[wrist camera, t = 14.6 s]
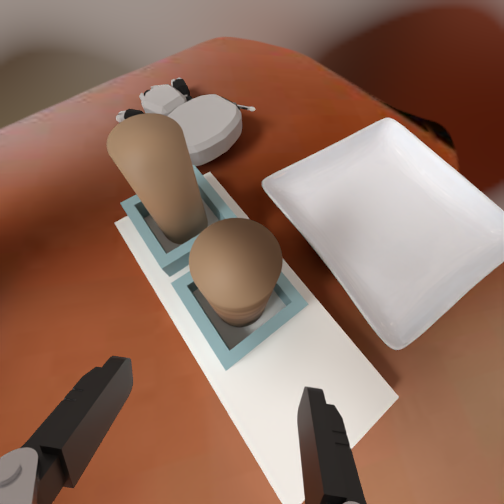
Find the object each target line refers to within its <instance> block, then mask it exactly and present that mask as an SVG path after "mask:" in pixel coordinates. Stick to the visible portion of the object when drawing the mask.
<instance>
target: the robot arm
mask: <svg viewBox="0 0 504 504" xmlns="http://www.w3.org/2000/svg"><path fill="white" fill-rule="evenodd" d="M132 386H133V375H132V365H131V359H130V358H125V357H118V356H112V357H110V358H109V359H108V361H107V362H106V363H105V364H104V365H103V367H102V368H101V367H95V368H94V369H92V370H91V371H90V372H88V373H87V374H85V375H84V376H83V377H82V378H81V379H80V380H79V381H78V383H77V384H76V385H75V386H74V387H73V389H72V390H71V391H70V392H69V393H68V394H67V395H66V397H65V398H64V400H63V401H61V402H60V404H59V405H58V406H57V407H56V408H55V409H54V411H53V412H52V413H51V414H50V415H49V416H48V418H47V419H46V420H45V421H44V422H43V423H42V425H41V426H40V427H39V428H38V429H37V430H36V432H35V433H34V434H33V435H32V436H31V437H30V439H29V440H28V441H27V442H26V443H25V444H24V445H23V446H22V447H21V448H19V449H16V450H13V451H11V452H9V453H7V454H5V455H4V456H2V457H1V458H0V504H55V498H56V496H57V495H58V493H59V492H60V490H61V489H62V487H63V486H64V487H69V488H74V487H75V485H76V484H77V482H78V480H79V479H80V477H81V475H82V474H83V472H84V470H85V469H86V467H87V465H88V463H89V462H90V460H91V458H92V457H93V455H94V453H95V452H96V450H97V448H98V447H99V445H100V443H101V442H102V440H103V438H104V437H105V435H106V433H107V432H108V430H109V428H110V427H111V425H112V423H113V422H114V420H115V418H116V416H117V415H118V413H119V411H120V410H121V408H122V406H123V405H124V403H125V401H126V400H127V398H128V396H129V394H130V392H131V389H132ZM297 426H298V436H299V446H300V456H301V466H302V476H303V486H304V496H305V504H367V503H366V501H365V498H364V494H363V491H362V487H361V484H360V480H359V476H358V473H357V469H356V465H355V462H354V458H353V454H352V451H351V448H350V443H349V440H348V436H347V435H346V429H345V425H344V422H343V418H342V416H341V415H340V413H339V412H338V410H337V408H336V407H335V405H331V404H326V400H325V396H324V392H323V390H322V389H319V388H313V387H306V386H305V387H304V390H303V394H302V397H301V400H300V404H299V407H298V413H297Z"/></svg>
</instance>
